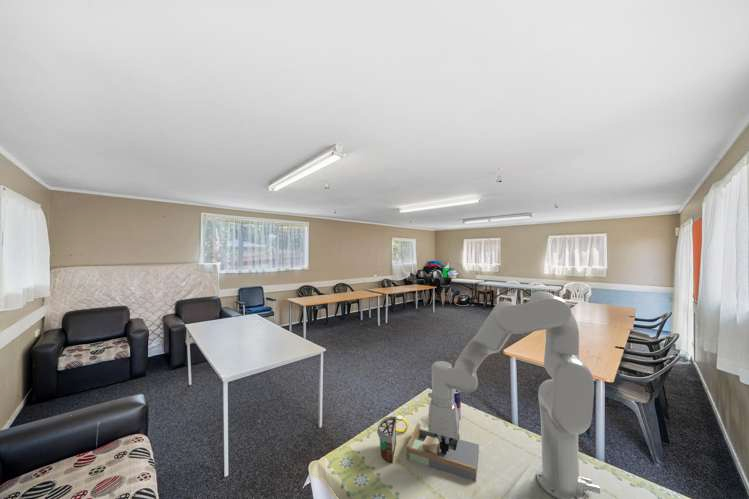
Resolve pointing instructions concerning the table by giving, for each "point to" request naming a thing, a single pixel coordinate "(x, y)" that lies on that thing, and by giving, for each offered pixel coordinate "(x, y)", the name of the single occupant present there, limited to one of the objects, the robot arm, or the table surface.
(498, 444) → the table surface
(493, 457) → the table surface
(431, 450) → the birch block
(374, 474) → the table surface
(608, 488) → the table surface
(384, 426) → the food container
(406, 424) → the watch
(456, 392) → the energy drink
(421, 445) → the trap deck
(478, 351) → the robot arm
